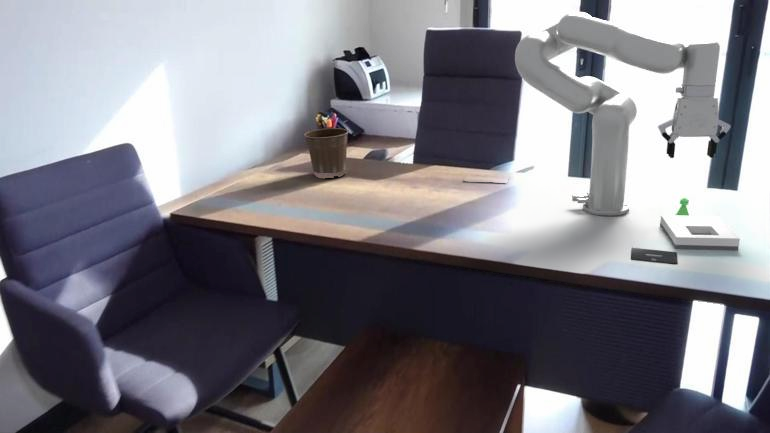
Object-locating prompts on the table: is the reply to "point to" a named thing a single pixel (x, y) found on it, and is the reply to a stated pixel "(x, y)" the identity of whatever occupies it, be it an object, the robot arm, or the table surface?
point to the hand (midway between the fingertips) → (690, 156)
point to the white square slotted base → (699, 232)
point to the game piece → (683, 207)
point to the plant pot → (327, 149)
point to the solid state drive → (654, 256)
